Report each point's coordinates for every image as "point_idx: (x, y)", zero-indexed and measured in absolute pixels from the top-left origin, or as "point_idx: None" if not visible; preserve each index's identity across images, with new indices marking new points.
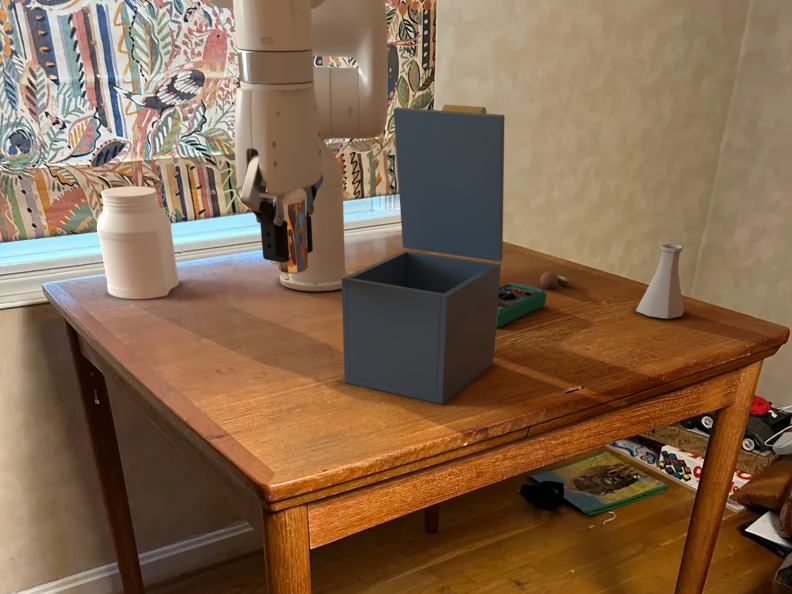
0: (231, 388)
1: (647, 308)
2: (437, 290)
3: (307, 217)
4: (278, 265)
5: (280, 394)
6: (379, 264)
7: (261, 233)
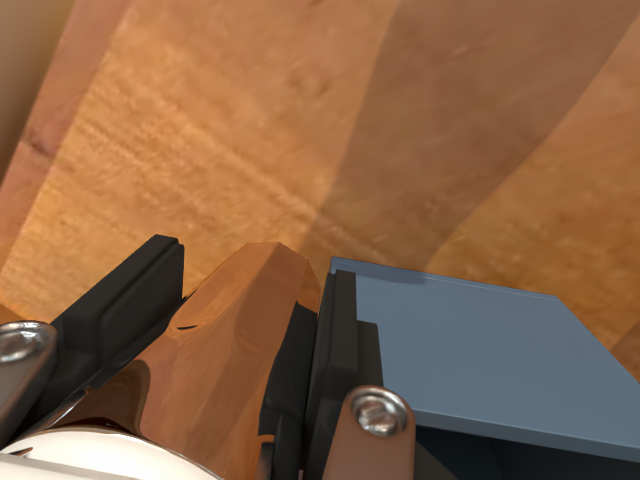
0: (223, 57)
1: None
2: (580, 458)
3: (302, 478)
4: (241, 247)
5: (238, 168)
6: (512, 440)
7: (100, 282)
